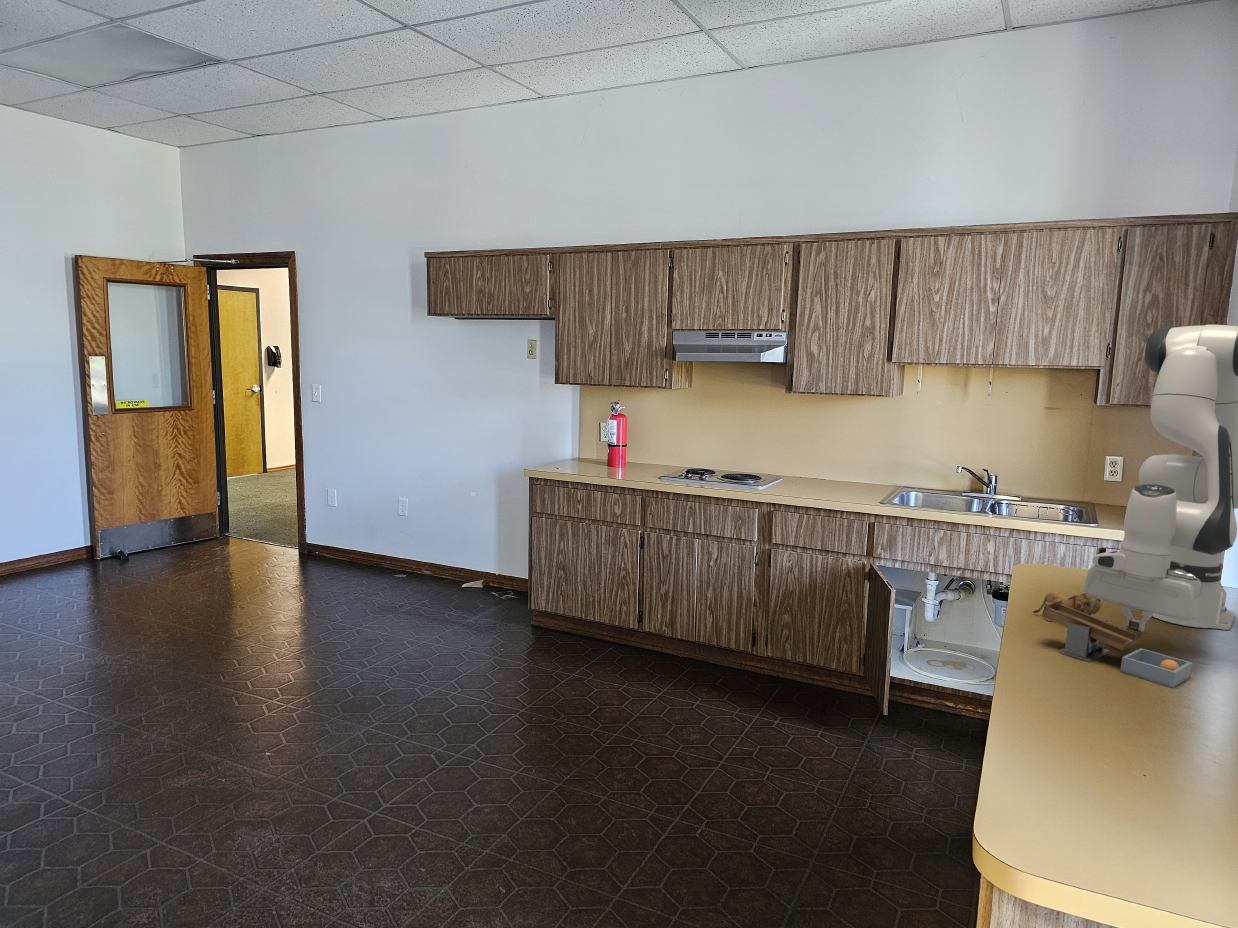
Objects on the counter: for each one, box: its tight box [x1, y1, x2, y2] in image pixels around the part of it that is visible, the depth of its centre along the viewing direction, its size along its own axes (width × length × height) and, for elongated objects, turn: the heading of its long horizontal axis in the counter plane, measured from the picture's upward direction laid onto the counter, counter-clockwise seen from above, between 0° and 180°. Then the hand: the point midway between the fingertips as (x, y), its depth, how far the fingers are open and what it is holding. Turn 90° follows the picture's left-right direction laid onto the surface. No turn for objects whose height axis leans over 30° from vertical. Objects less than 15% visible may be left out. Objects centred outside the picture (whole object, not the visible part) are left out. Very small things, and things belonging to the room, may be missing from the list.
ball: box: [1160, 660, 1179, 671], centre depth 155 cm, size 3×3×3 cm
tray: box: [1119, 647, 1193, 689], centre depth 157 cm, size 9×9×3 cm
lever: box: [1041, 599, 1147, 651], centre depth 169 cm, size 13×16×3 cm
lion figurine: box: [1032, 591, 1103, 622], centre depth 185 cm, size 15×5×9 cm, turn 35°
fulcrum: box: [1058, 616, 1110, 663], centre depth 167 cm, size 9×6×7 cm, turn 127°
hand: (1134, 628), depth 167 cm, fingers closed
